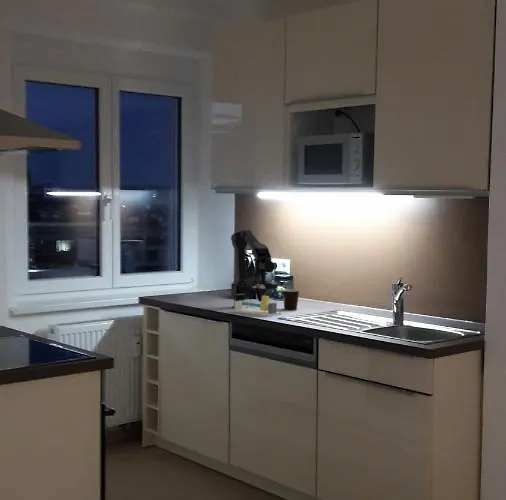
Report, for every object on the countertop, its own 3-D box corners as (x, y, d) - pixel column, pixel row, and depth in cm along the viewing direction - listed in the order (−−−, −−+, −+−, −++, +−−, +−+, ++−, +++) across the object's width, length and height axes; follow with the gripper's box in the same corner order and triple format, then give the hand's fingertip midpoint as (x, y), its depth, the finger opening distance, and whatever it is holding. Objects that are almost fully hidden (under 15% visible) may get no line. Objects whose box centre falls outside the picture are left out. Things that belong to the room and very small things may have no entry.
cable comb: (232, 311, 411) (232, 301, 410) (246, 309, 419) (247, 299, 419) (267, 316, 396) (267, 305, 395) (281, 314, 404) (281, 303, 404)
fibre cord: (238, 309, 413) (238, 299, 413) (242, 308, 416) (243, 298, 415) (271, 313, 399) (272, 303, 398) (276, 313, 402) (276, 303, 401)
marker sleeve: (260, 310, 403) (260, 296, 403) (265, 309, 406) (265, 295, 406) (264, 310, 401) (265, 296, 401) (269, 310, 404) (270, 295, 404)
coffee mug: (297, 311, 416) (297, 291, 415) (281, 310, 418) (281, 291, 417) (300, 307, 427) (300, 289, 426) (284, 307, 429) (284, 288, 428)
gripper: (235, 270, 405) (235, 301, 406) (264, 273, 392) (263, 304, 394) (250, 269, 413) (249, 299, 414) (278, 271, 401) (278, 302, 402)
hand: (259, 301), depth 406 cm, fingers closed
